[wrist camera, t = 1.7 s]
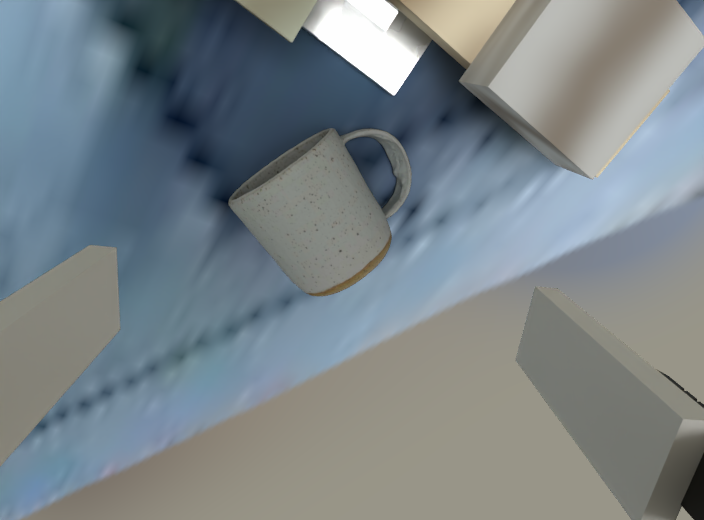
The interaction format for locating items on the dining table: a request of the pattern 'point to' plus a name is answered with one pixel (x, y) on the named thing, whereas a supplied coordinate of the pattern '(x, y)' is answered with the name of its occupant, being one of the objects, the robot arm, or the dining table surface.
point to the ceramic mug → (322, 211)
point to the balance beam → (550, 63)
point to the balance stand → (369, 38)
